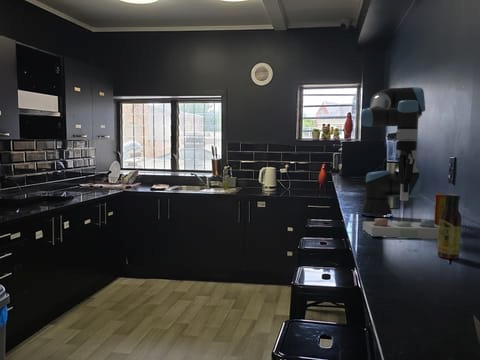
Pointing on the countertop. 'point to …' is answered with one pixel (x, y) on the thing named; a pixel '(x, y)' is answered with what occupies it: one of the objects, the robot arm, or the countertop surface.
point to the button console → (401, 230)
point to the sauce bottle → (450, 228)
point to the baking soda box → (439, 206)
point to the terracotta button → (381, 222)
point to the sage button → (404, 224)
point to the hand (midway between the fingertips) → (404, 200)
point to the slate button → (427, 223)
